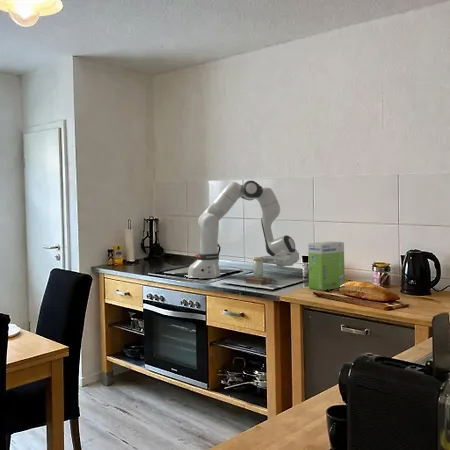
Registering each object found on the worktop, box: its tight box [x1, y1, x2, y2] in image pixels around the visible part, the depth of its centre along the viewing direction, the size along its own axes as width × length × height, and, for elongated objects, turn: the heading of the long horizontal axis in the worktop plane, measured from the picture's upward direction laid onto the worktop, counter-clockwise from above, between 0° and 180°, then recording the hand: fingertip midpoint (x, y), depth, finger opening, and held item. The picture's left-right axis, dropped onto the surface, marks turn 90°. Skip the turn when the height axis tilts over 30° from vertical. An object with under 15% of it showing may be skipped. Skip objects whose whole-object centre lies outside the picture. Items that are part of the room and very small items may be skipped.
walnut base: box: [245, 276, 272, 285], centre depth 294 cm, size 10×10×2 cm
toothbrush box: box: [307, 241, 346, 291], centre depth 273 cm, size 18×10×24 cm, turn 126°
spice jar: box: [252, 256, 264, 279], centre depth 293 cm, size 6×6×12 cm
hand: (267, 262), depth 300 cm, fingers open, 8 cm apart
